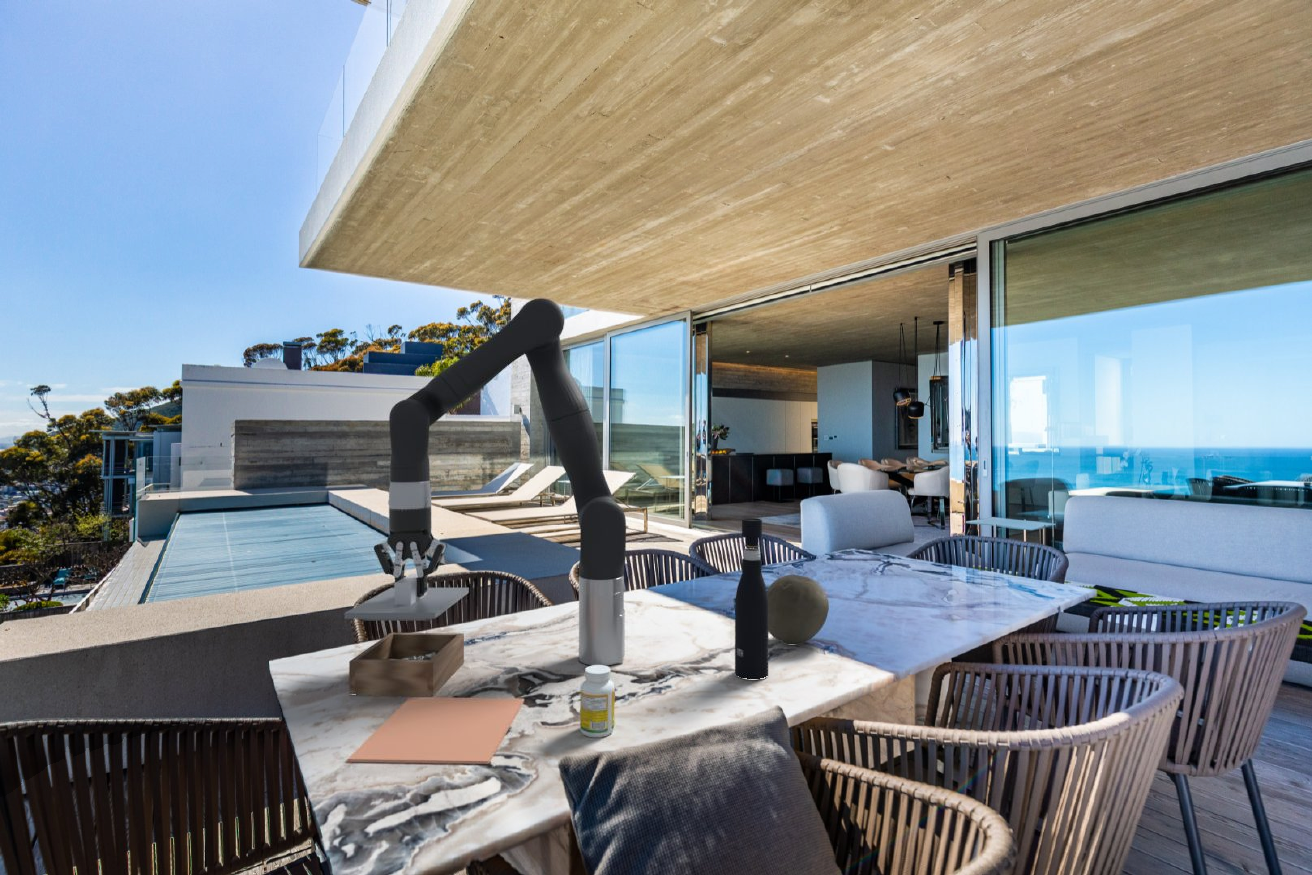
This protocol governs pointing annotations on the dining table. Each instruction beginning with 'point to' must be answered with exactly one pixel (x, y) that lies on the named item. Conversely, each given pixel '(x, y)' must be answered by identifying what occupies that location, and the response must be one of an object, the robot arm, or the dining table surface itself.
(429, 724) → the mat
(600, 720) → the supplement bottle
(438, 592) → the lid
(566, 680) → the dining table surface
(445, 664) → the box
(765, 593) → the black water bottle
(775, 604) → the cantaloupe
